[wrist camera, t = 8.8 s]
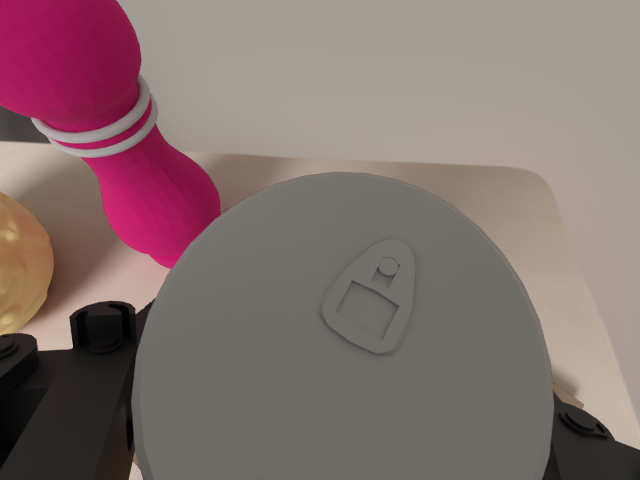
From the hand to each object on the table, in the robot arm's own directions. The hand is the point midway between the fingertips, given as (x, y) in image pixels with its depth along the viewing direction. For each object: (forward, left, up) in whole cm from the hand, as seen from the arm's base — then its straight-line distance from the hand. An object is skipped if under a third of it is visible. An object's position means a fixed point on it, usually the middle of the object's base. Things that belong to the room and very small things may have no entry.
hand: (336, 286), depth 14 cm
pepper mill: (-14, -1, -11) cm, 17 cm away
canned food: (+2, -3, -4) cm, 5 cm away
